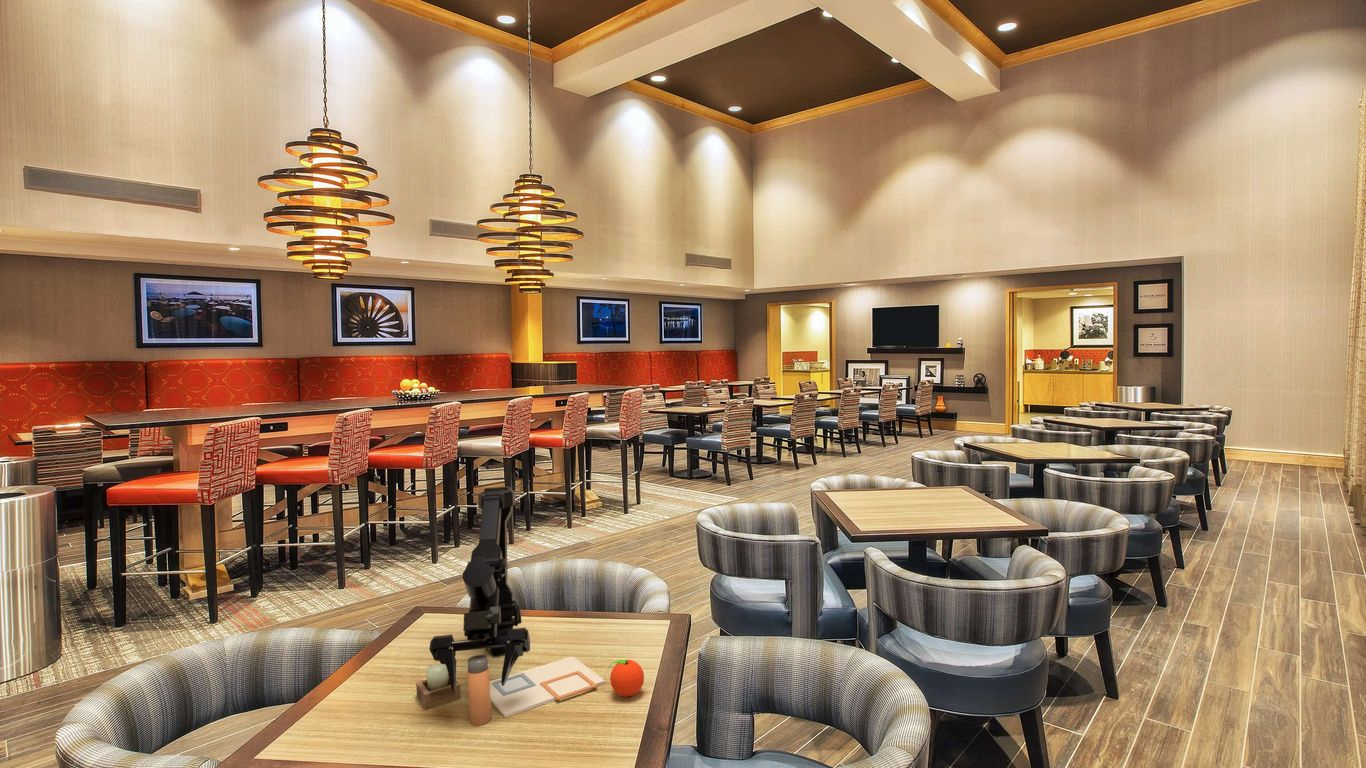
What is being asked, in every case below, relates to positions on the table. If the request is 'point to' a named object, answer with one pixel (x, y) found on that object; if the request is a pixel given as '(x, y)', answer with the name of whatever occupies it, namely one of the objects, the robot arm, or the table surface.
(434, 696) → the button base
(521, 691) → the picture sheet
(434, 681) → the button
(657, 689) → the table surface
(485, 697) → the marker
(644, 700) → the table surface
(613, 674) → the clementine
